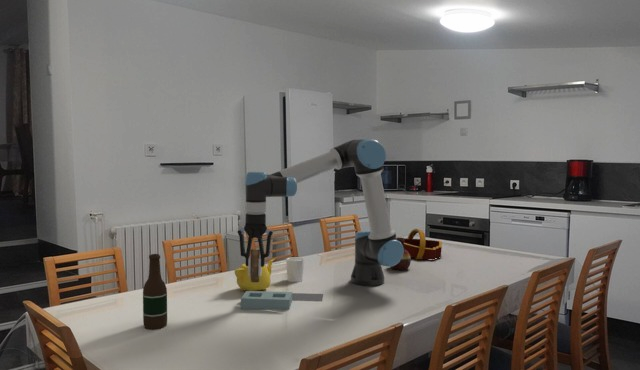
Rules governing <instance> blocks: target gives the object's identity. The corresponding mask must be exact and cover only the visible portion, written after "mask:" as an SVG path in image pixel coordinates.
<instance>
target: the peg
mask: <svg viewBox="0 0 640 370" xmlns="http://www.w3.org/2000/svg"><path fill="white" fill-rule="evenodd" d="M250 257H251V282H259V276H258V272H259V258H260V249H259V248H253V249H252V248H251V252H250Z"/></svg>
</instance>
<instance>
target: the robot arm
mask: <svg viewBox="0 0 640 370" xmlns="http://www.w3.org/2000/svg"><path fill="white" fill-rule="evenodd" d="M386 158H387V152H386V149H385V147H384V145H383V144H382V143H381V142H379V141H378V140H376V139H371V138H363V139H361V138H360V139H351V140H348V141H346V142H344V143H342V144H339V145H337V146H335V147H332V148H330V149H329V152H328V151H327V152H326V153H323V154H321V155H318V156H315V157H312V158H310V159H308V160H305V161H301V162H299V163H297V164H294V165H292V166H288V167H286V168H283V169H280V170H278V171H276V172H273V173H270V174H267V172H266V171H248V172H247V173H246V175H245V212H246V213H245V223H244V224H245V225H244V227H243V228H242V229H238V230H237V234H238V237H239V248H240V256H241V257H244V258H245V264H246V266H248V276H250V275H251V250H252V245H253V239H254V238H256V239H257V244H258V249H259V250H260V253H259V272H258V276H261V274H262V267H264V265H266V264H265V262H266V261H265V259H266V258H268V257H269V256H270V252H271V242H272V236H273V233H274V230H273V229H272V230H271V229H269V228H268V227H267V222H266V220H267V216H266V215H267V214H266V212H267V198H271V197H272V198H276V197H278V198H279V197H280V198H282V197H284V198H288V197H294V196H295V195H296V194H297V192H298V184H300V183H302V182H305V181H307V180H309V179H310V180H311V179H312V178H313V179H314V178H315V177H318V176H320V175H323V174H325V173H328V172H330V171H333V170H339V171H340V170H341V169H345V168H350V167H351V168H353V167H354V173H355V175H356V176H357V177H359V179H360V184H361V188H362V193H363V198H364V204H365V208H366V209H365V210H366V214H367V219H368V222H369V224H368V225H369V228H370V230H358V231H357V232H356V233H355V238H354V241H355V242H354V243H355V244H354V266H353V269H352V271H351V275H350V282H351V283H352V284H355V285H359V286H360V285H361V286H370V287H371V286H380V285H383V284H385V275H384V271H383V268H382V266H383V267H387V268H388V267H389V268H391V266H394V265H396V264H398V263H399V262H400V260H401V258H402V257H403V253H404V249H403V245H402V244H401V243H400V242H399V241H398V240H397V238H398V237H397V235H396V231H395V230H394V229H393V228H392V227H391V221H390V216H389V210H388V206H387V200H386V195H385V190H384V186H383V185H384V184H383V179H382V175H381V174H382V173H383V171H384V163H385V161H386ZM245 233H246V234H247V236H248V239H247V245H246V246H245ZM265 233H266V236H267V237H266V244H265V245H266V247H265V248H264V241H263V235H264V234H265Z"/></svg>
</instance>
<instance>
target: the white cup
mask: <svg viewBox="0 0 640 370" xmlns="http://www.w3.org/2000/svg"><path fill="white" fill-rule="evenodd" d="M304 261H305V258H303V257H298V256H297V257H296V256H294V257H293V256H292V257H287V258H286V261H285V263H286V275H287V276H286V277H287V281H288V282H290V283H291V282H292V283H302V282H303V281H304V280H303V275H304V266H305V264H304V263H305V262H304Z"/></svg>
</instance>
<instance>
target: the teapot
mask: <svg viewBox="0 0 640 370" xmlns="http://www.w3.org/2000/svg"><path fill="white" fill-rule="evenodd" d="M275 260H276V259H275V258H273V259H270V260H269V261H268V263H267V266H266V264H265V265H264V267H262V274H261V276H259V282H251V275H250V276H248V266H246V263H243V264H241V265H240V267H239V268H235V270H234V275H235V278H236V284H237V285H238V287H239V288H240V291H243V292H244V291H245V292H246V291H266V290H267V289H268V288H269V287H270V285H271V283H272V282H271V274H272V265H273V262H274V261H275Z"/></svg>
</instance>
